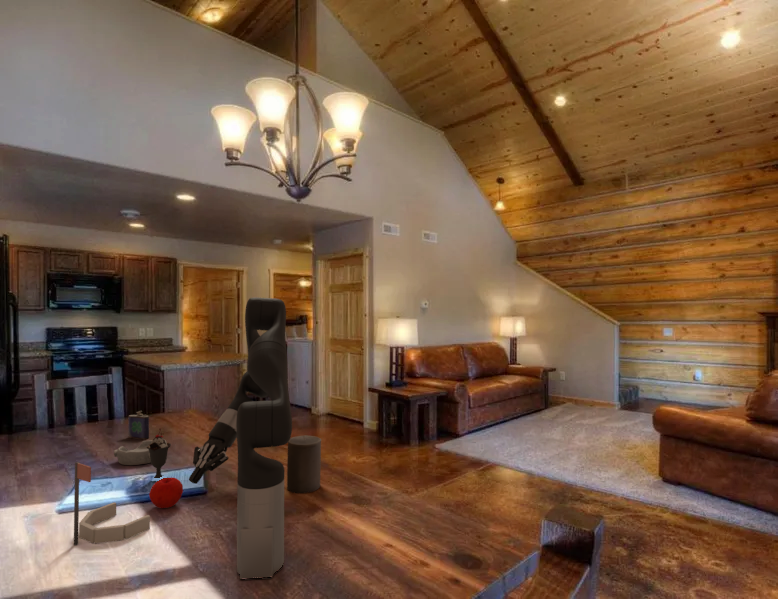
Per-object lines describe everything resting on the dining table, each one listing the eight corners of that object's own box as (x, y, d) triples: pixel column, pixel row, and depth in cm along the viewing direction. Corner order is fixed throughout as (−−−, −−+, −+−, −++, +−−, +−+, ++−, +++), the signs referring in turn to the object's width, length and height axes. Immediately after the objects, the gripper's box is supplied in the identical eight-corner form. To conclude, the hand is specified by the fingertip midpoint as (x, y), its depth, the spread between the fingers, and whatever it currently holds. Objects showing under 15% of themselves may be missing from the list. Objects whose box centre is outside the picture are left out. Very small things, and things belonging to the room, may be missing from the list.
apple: (152, 516, 112) (152, 487, 112) (145, 505, 118) (146, 477, 118) (186, 507, 117) (186, 479, 117) (178, 497, 123) (178, 470, 123)
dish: (107, 465, 149) (108, 450, 149) (140, 452, 162) (140, 438, 162) (144, 468, 145) (144, 453, 146) (174, 455, 159) (174, 441, 159)
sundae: (164, 473, 141) (164, 425, 141) (174, 478, 137) (174, 429, 137) (142, 479, 136) (142, 430, 136) (151, 485, 132) (152, 434, 132)
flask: (126, 438, 179) (127, 411, 179) (132, 436, 182) (132, 409, 182) (145, 439, 177) (146, 412, 177) (151, 437, 180) (151, 411, 180)
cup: (114, 514, 113) (114, 442, 113) (149, 528, 106) (150, 452, 106) (56, 536, 102) (58, 457, 102) (92, 554, 94) (93, 469, 95)
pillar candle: (287, 495, 125) (288, 441, 125) (286, 481, 134) (287, 431, 134) (322, 491, 127) (323, 439, 127) (318, 479, 137) (319, 429, 137)
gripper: (206, 418, 136) (168, 471, 125) (236, 423, 129) (199, 480, 119) (220, 431, 141) (185, 483, 130) (250, 437, 134) (216, 493, 123)
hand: (192, 482), depth 124 cm, fingers closed
